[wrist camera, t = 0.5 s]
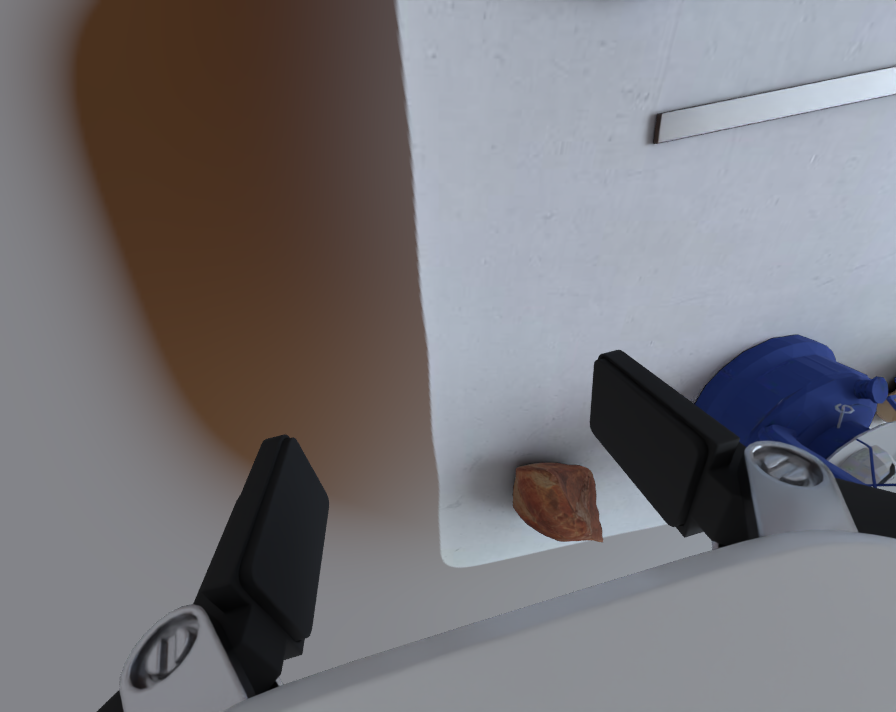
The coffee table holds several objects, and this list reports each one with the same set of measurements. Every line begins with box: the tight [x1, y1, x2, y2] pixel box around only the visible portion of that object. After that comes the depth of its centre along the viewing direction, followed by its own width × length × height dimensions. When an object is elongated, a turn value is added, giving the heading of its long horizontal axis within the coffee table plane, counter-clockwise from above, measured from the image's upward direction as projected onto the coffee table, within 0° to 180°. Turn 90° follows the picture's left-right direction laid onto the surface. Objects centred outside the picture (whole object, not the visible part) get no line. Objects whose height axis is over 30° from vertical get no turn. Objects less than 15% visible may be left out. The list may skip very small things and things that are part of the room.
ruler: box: [654, 66, 896, 144], centre depth 22 cm, size 2×24×1 cm, turn 100°
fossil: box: [513, 463, 603, 542], centre depth 33 cm, size 13×8×10 cm
